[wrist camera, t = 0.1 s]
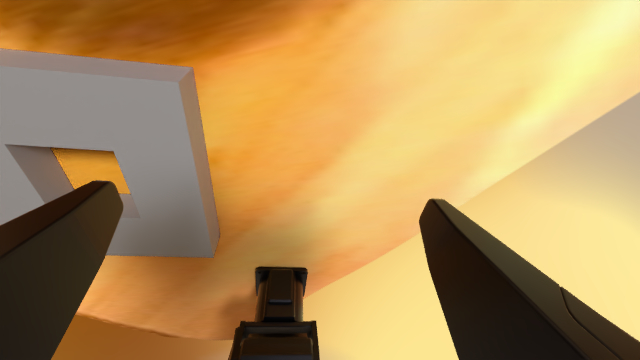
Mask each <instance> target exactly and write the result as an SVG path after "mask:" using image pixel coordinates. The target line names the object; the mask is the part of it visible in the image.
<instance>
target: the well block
mask: <svg viewBox="0 0 640 360" xmlns="http://www.w3.org/2000/svg"><path fill="white" fill-rule="evenodd" d="M50 147H57V148H73V149H89V150H105V151H114V154H115V156H116V159H117V161H118V164H119V166H120V168H121V171H122V173H123V176H124V178H125V181H126V183H127V185H128V188H129V190H130V193H131V194H119V195H120V197H121V200H122V202H123V213H122V215H121V218H120V220H119V223H118V225H117V228H116V231H115V233H114V236H113V238H112V241H111V243H110V246H109V248H108V251H107V253H106V255H119V256H163V257H207V258H214V254H215V251H216V247H217V244H218V240H219V237H220V231H219V225H218V219H217V212H216V206H215V200H214V194H213V188H212V182H211V176H210V169H209V163H208V157H207V151H206V145H205V139H204V133H203V126H202V120H201V114H200V108H199V102H198V96H197V90H196V83H195V77H194V71H193V67H183V66H173V65H162V64H152V63H142V62H132V61H122V60H112V59H102V58H91V57H81V56H71V55H61V54H51V53H41V52H31V51H21V50H10V49H0V225H2V224H4V223H6V222H8V221H10V220H12V219H15V218H17V217H19V216H21V215H23V214H25V213H27V212H29V211H31V210H33V209H35V208H38V207H40V206H42V205H44V204H46V203H48V202H50V201H52V200H54V199H56V198H58V197H61V196H63V195H65V194H67V193H69V192H71V191H73V190H74V189H73V187H72V185H71V183H70V182H69V180H68V178H67V176H66V175H65V173H64V171H63V169H62V168H61V166H60V164H59V162H58V161H57V159H56V157H55V155H54V154H53V152H52V150H51V148H50Z"/></svg>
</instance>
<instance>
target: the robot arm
mask: <svg viewBox="0 0 640 360" xmlns="http://www.w3.org/2000/svg"><path fill="white" fill-rule="evenodd" d="M122 213H123V202H122V200H121V197H120V195H119V193H118V190H117V188H116V186H115V184H114V183H113V182H110V181H92V182H90V183H88V184H86V185H84V186H81V187H79V188H77V189H75V190H73V191H71V192H69V193H67V194H65V195H63V196H61V197H58V198H56V199H54V200H52V201H50V202H48V203H46V204H44V205H42V206H40V207H38V208H35V209H33V210H31V211H29V212H27V213H25V214H23V215H21V216H19V217H17V218H15V219H12V220H10V221H8V222H6V223H4V224H2V225H0V360H51V358H52V356H53V355H54V353H55V351H56V349H57V347H58V345H59V343H60V342H61V339H62V338H63V336H64V334H65V332H66V330H67V328H68V327H69V324H70V323H71V321H72V319H73V317H74V315H75V313H76V312H77V310H78V308H79V306H80V304H81V302H82V300H83V298H84V297H85V295H86V293H87V291H88V289H89V287H90V285H91V283H92V282H93V280H94V278H95V276H96V274H97V272H98V270H99V268H100V266H101V264H102V262H103V260H104V258H105V256H106V253H107V251H108V248H109V246H110V243H111V241H112V238H113V236H114V233H115V231H116V228H117V225H118V223H119V220H120V218H121V215H122ZM419 225H420V230H421V234H422V239H423V243H424V248H425V253H426V257H427V262H428V266H429V270H430V273H431V277H432V280H433V283H434V285H435V289H436V292H437V295H438V298H439V300H440V304H441V307H442V310H443V313H444V316H445V319H446V322H447V325H448V328H449V331H450V334H451V337H452V340H453V343H454V346H455V349H456V352H457V355H458V358H459V360H640V342H639V341H638V340H636V339H635V338H633V337H632V336H630V335H629V334H628V333H626V332H625V331H623V330H622V329H620V328H619V327H617V326H616V325H614V324H613V323H611V322H610V321H608V320H607V319H606V318H604V317H603V316H601V315H600V314H598V313H597V312H596V311H594V310H593V309H591V308H590V307H589V306H587V305H586V304H585V303H583V302H582V301H580V300H579V299H578V298H576V297H575V296H573V295H572V294H571V293H569V292H568V291H567V290H566V289H564V288H563V287H560V286H559V284H557V283H556V282H555V281H553V280H552V279H551V278H549V277H548V276H547V275H545V274H544V273H542V272H541V271H540V270H538V269H537V268H536V267H534V266H533V265H531V264H530V263H529V262H528V261H526V260H525V259H524V258H522V257H521V256H520V255H518V254H517V253H516V252H514V251H513V250H511V249H510V248H509V247H507V246H506V245H505V244H503V243H502V242H501V241H499V240H498V239H497V238H495V237H494V236H492V235H491V234H490V233H488V232H487V231H486V230H484V229H483V228H482V227H480V226H479V225H478V224H476V223H475V222H473V221H472V220H471V219H469V218H468V217H467V216H466V215H464V214H463V213H461V212H460V211H459V210H457V209H456V208H455V207H453V206H452V205H451V204H449V203H448V202H447V201H445V200H443V199H429V200H428V202H427V203H426V206H425V208H424V210H423V212H422V214H421V216H420V219H419ZM307 274H308V271H307V269H306V268H268V267H258V268H256V292H257V296H258V298H257V306H256V314H255V322H246V321H241V322H240V327H238V328H236V330H235V335H234V341H233V345H232V349H231V352H230V355H229V358H228V360H320V359H319V346H318V336H317V326H316V321H309V322H308V321H306V322H305V321H303V297H304V293H305V286H306V280H307Z"/></svg>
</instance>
